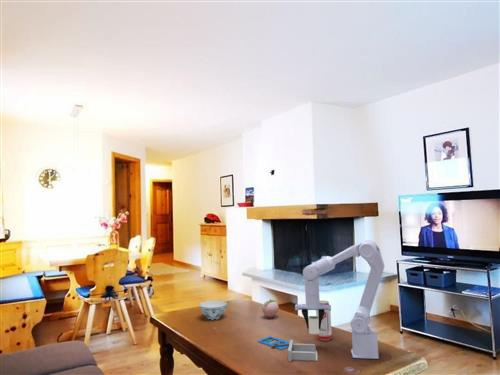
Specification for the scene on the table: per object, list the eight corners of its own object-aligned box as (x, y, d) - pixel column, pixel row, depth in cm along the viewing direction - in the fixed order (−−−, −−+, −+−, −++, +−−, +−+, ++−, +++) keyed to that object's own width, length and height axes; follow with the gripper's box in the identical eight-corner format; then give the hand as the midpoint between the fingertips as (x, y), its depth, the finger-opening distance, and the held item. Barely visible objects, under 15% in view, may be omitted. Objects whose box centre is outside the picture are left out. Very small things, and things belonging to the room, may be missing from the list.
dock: (317, 350, 146) (316, 340, 147) (317, 362, 134) (316, 351, 135) (290, 349, 148) (290, 339, 148) (288, 361, 136) (287, 350, 137)
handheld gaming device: (281, 348, 148) (256, 340, 159) (281, 351, 148) (256, 342, 159) (295, 343, 154) (270, 335, 165) (295, 345, 153) (270, 337, 164)
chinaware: (196, 316, 202) (196, 302, 202) (221, 312, 208) (221, 299, 209) (204, 323, 188) (204, 308, 189) (231, 319, 195) (231, 304, 195)
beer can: (322, 335, 164) (320, 299, 165) (334, 338, 159) (332, 301, 161) (314, 339, 159) (312, 302, 161) (326, 342, 155) (324, 304, 156)
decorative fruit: (268, 314, 201) (267, 296, 202) (281, 316, 196) (280, 297, 197) (259, 319, 193) (258, 299, 194) (272, 321, 189) (271, 301, 189)
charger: (319, 331, 150) (318, 315, 151) (319, 334, 146) (318, 318, 147) (309, 330, 151) (308, 315, 151) (309, 333, 147) (308, 318, 147)
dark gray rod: (295, 345, 153) (295, 342, 153) (295, 346, 152) (295, 343, 152) (271, 347, 151) (270, 345, 151) (271, 348, 150) (271, 346, 150)
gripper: (329, 292, 152) (331, 325, 151) (295, 292, 155) (296, 324, 154) (330, 296, 145) (332, 330, 144) (294, 296, 148) (295, 329, 147)
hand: (313, 328), depth 149 cm, fingers closed on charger, 4 cm apart
